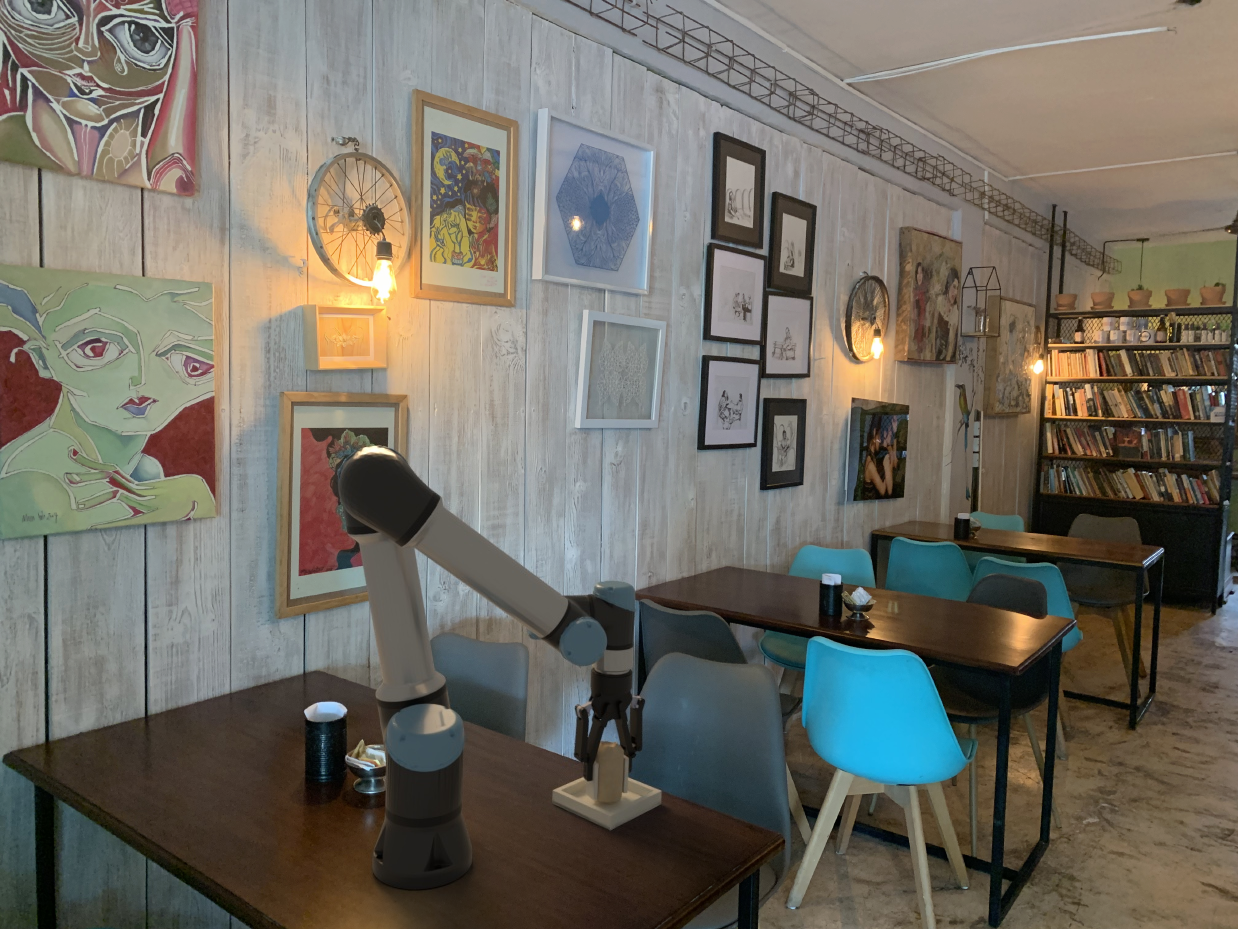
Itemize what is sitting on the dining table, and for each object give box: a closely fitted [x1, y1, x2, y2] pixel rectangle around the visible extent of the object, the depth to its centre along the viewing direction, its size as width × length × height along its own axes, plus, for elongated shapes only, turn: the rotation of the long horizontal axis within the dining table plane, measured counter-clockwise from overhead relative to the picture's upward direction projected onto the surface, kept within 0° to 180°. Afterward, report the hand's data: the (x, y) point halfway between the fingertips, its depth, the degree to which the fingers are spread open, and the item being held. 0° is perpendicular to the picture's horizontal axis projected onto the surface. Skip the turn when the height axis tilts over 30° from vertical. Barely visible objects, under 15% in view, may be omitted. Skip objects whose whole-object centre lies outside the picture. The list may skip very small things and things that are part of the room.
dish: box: [551, 776, 663, 831], centre depth 160 cm, size 14×14×2 cm
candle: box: [595, 740, 624, 803], centre depth 159 cm, size 6×6×10 cm
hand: (606, 793), depth 160 cm, fingers open, 6 cm apart
